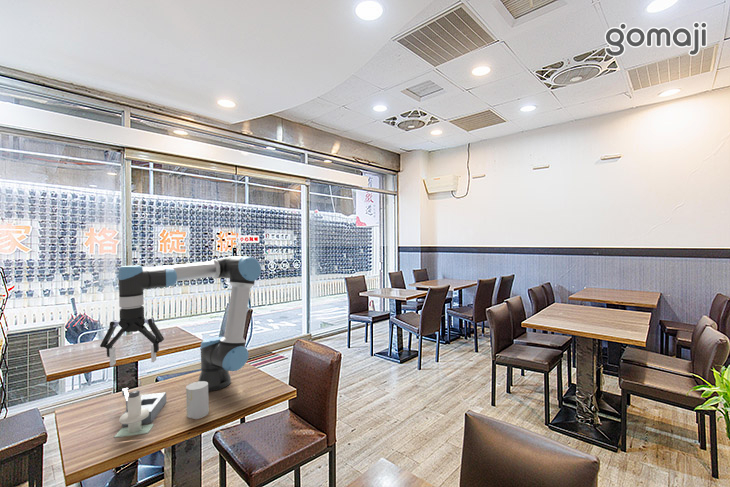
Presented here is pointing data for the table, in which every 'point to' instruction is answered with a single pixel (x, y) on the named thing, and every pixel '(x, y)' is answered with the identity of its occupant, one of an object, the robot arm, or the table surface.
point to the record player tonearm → (125, 396)
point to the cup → (197, 399)
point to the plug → (134, 412)
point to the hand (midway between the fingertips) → (133, 363)
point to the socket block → (151, 405)
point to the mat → (144, 430)
